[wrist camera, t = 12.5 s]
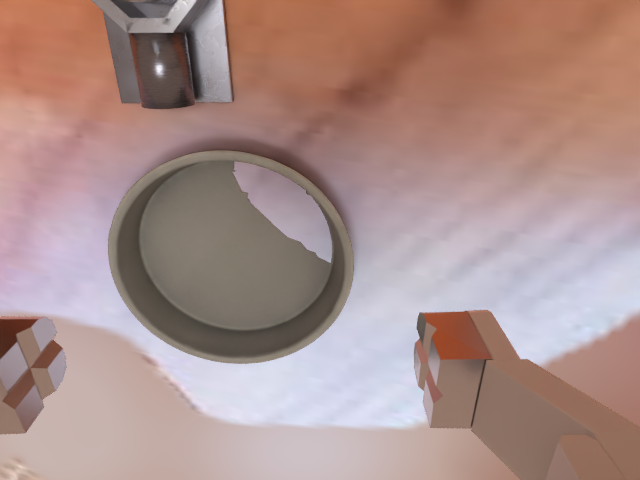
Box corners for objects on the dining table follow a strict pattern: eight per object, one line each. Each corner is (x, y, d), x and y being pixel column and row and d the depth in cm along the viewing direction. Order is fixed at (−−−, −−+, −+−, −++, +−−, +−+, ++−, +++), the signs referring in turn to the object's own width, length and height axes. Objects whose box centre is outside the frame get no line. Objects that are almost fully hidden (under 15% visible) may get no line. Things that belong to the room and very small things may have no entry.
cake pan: (321, 354, 54) (321, 381, 50) (121, 318, 52) (104, 343, 48) (378, 171, 44) (385, 185, 40) (130, 112, 41) (109, 122, 37)
